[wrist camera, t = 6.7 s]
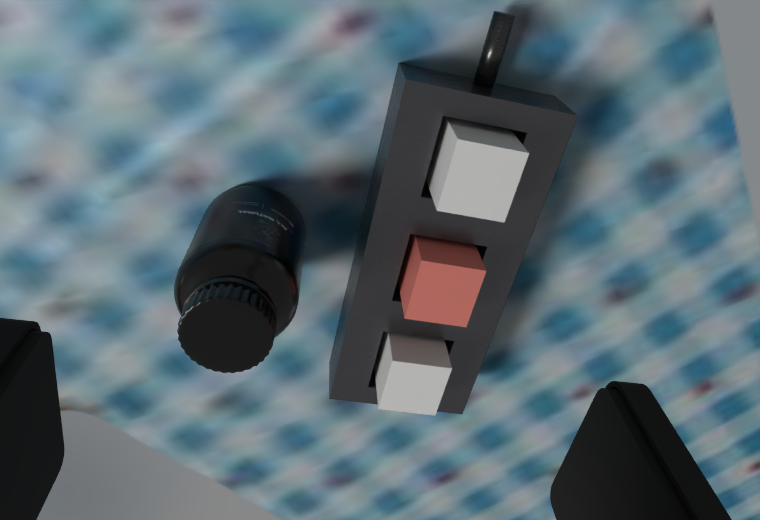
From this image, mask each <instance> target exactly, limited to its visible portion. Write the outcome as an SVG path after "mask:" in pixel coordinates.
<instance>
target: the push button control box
mask: <svg viewBox="0 0 760 520" xmlns="http://www.w3.org/2000/svg"><path fill="white" fill-rule="evenodd" d="M514 18H515V16H513V15H510V14H507V13H503V12H498V11H494V13H493V16H492V20H491V23H490V27H489V30H488V34H487V37H486V40H485V44H484V47H483V51H482V54H481V57H480V61H479V64H478V68H477V71H476V74H475V78H474V79H472V78H467V77H463V76H458V75H453V74H449V73H444V72H439V71H435V70H430V69H425V68H421V67H416V66H412V65H407V64H402V63H398V68H397V72H396V76H395V81H394V85H393V89H392V94H391V98H390V102H389V107H388V111H387V115H386V120H385V124H384V128H383V133H382V137H381V141H380V146H379V150H378V154H377V159H376V163H375V167H374V172H373V176H372V180H371V185H370V189H369V193H368V198H367V202H366V206H365V211H364V215H363V219H362V224H361V228H360V232H359V237H358V241H357V245H356V250H355V254H354V258H353V263H352V267H351V271H350V276H349V280H348V284H347V289H346V293H345V297H344V302H343V306H342V310H341V315H340V319H339V323H338V328H337V332H336V336H335V341H334V345H333V349H332V354H331V358H330V363H329V399H336V400H345V401H353V402H362V403H371V404H378V400H377V390H376V379H375V368H374V363H375V360H376V356H377V352H378V349H379V345H380V342H381V338H382V334H383V331H386V332H393V333H400V334H407V335H415V336H422V337H429V338H436V339H443V340H445V343H446V347H447V351H448V355H449V359H450V362H451V366H452V370H451V373H450V376H449V379H448V381H447V384H446V387H445V390H444V392H443V395H442V398H441V401H440V404H439V406H438V409H437V411H439V412H448V413H456V414H463V411H464V408H465V406H466V403H467V401H468V398H469V396H470V393H471V390H472V388H473V385H474V383H475V380H476V378H477V375H478V372H479V370H480V367H481V365H482V362H483V359H484V357H485V354H486V352H487V349H488V347H489V344H490V341H491V339H492V336H493V334H494V331H495V328H496V326H497V323H498V321H499V318H500V316H501V313H502V310H503V308H504V305H505V303H506V300H507V298H508V295H509V292H510V290H511V287H512V285H513V282H514V279H515V277H516V274H517V272H518V269H519V267H520V264H521V261H522V259H523V256H524V254H525V251H526V248H527V246H528V243H529V241H530V238H531V236H532V233H533V230H534V228H535V225H536V223H537V220H538V218H539V215H540V212H541V210H542V207H543V205H544V202H545V199H546V197H547V194H548V192H549V189H550V187H551V184H552V181H553V179H554V176H555V174H556V171H557V168H558V166H559V163H560V161H561V158H562V156H563V153H564V150H565V148H566V145H567V143H568V140H569V138H570V135H571V132H572V130H573V127H574V125H575V122H576V119H577V117H578V115H576V114H575V113H574V112H573V111H572V110H571V109H569V108H568V107H567V106H566V105H565V104H563V103H562V102H561V101H560V100H559V99H558V98H556V97H555V96H551V95H546V94H541V93H537V92H532V91H527V90H523V89H518V88H514V87H509V86H504V85H500V84H495V79H496V76H497V73H498V70H499V67H500V63H501V60H502V57H503V54H504V51H505V47H506V44H507V41H508V38H509V34H510V31H511V28H512V25H513V22H514ZM443 116H448V117H453V118H457V119H462V120H467V121H472V122H477V123H482V124H487V125H492V126H497V127H502V128H507V129H510V130H511V131H512V132H513V133H514V135H515V136H516V137H517V138H518V140H519V141H520V142H521V143H522V145H523V146H524V147H525V148H526V150H527V151H528V152H529V156H528V158H527V161H526V164H525V167H524V169H523V172H522V175H521V178H520V181H519V183H518V186H517V189H516V192H515V195H514V197H513V200H512V203H511V206H510V209H509V211H508V214H507V217H506V220H505V222H498V221H493V220H487V219H481V218H475V217H470V216H464V215H458V214H453V213H447V212H441V211H437V210H436V207H435V204H434V201H433V198H432V196H431V193H430V190H429V187H428V184H427V181H426V176H427V172H428V168H429V165H430V161H431V158H432V154H433V150H434V147H435V143H436V139H437V136H438V132H439V129H440V125H441V121H442V118H443ZM410 234H414V235H420V236H426V237H432V238H438V239H444V240H450V241H456V242H462V243H468V244H474V245H476V247H477V250H478V252H479V254H480V257H481V259H482V261H483V264H484V266H485V268H486V274H485V277H484V279H483V282H482V285H481V288H480V291H479V293H478V296H477V299H476V302H475V305H474V307H473V310H472V313H471V316H470V319H469V321H468V324H467V327H460V326H453V325H446V324H439V323H432V322H425V321H418V320H411V319H405V318H404V313H403V307H402V301H401V296H400V290H399V285H398V277H399V273H400V269H401V266H402V262H403V259H404V255H405V251H406V248H407V244H408V241H409V237H410Z"/></svg>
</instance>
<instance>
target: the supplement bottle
mask: <svg viewBox="0 0 760 520" xmlns="http://www.w3.org/2000/svg"><path fill="white" fill-rule="evenodd" d="M304 248H305V226H304V222H303V219H302V217H301V215H300V213H299V211H298V210H297V208H296V207H295V206H294V204H293V203H292V202H291V201H290V200H289V199H287V198H286V197H285V196H284V195H282V194H280V193H279V192H277V191H275V190H272V189H270V188H267V187H263V186H256V185H245V186H239V187H235V188H232V189H229V190H227V191H225V192H223V193H222V194H220V195H219V196H218V197H216V198H215V199H214V200H213V201H212V203H211V204H210V205H209V207H208V208H207V210H206V212H205V214H204V216H203V218H202V220H201V222H200V224H199V226H198V229H197V231H196V233H195V235H194V237H193V240H192V242H191V244H190V246H189V248H188V250H187V253H186V255H185V257H184V259H183V261H182V264H181V266H180V268H179V270H178V273H177V276H176V279H175V284H174V297H175V302H176V305H177V308H178V311H179V313H180V315H181V317H180V320H179V323H178V326H179V327H178V331H177V332H178V334H179V338H178V340H179V341H180V342H181V347H182V348H183V349H184V350H185V354H187V355H188V356H190V358H191V360H193V361H196V363H197V364H198V365H202V366H204V367H205V368H206V369H212V370H213V371H220V372H223V373H227V372H230V373H235V372H242V371H244V370H248V369H251V368H252V367H253V366H257V365H258V364H259V362H262V361H263V360H264V358H265V357H266V356H267V355H268V354H269V351H270V349H271V348H272V346H273V340H274V338H275V337H276V336H278V335H279V334H280V333H281V332H282V331H284V330H285V328H286V327H287V326H288V325H289V324H290V322H291V321H292V319H293V317H294V315H295V313H296V309H297V305H298V300H299V292H300V284H301V275H302V266H303V257H304Z"/></svg>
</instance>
